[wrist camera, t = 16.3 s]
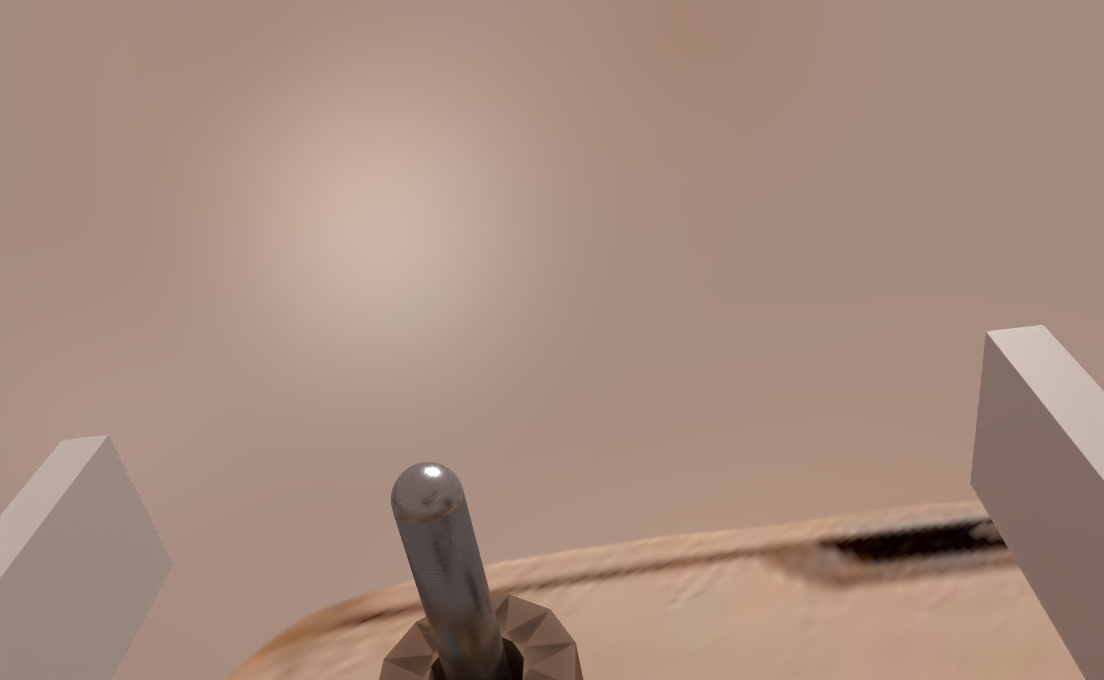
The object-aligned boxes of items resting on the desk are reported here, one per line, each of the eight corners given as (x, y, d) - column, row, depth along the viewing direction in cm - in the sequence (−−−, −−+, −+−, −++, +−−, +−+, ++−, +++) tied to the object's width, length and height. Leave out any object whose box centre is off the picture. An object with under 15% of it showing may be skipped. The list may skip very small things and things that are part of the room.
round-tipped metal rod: (530, 723, 47) (459, 444, 37) (527, 776, 44) (451, 491, 35) (474, 727, 47) (390, 451, 38) (468, 780, 44) (376, 498, 35)
